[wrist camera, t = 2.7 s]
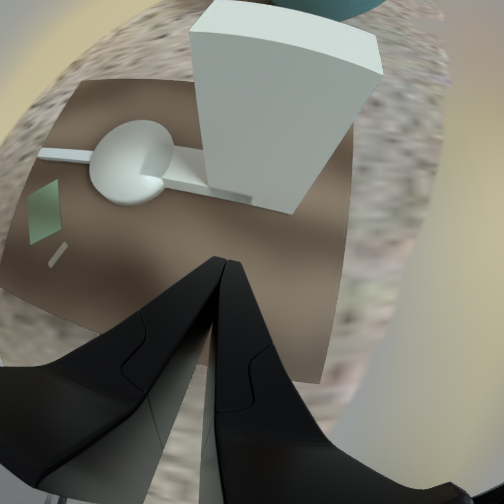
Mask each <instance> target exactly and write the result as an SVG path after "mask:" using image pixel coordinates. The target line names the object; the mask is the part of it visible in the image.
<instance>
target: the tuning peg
mask: <svg viewBox="0 0 504 504" xmlns="http://www.w3.org/2000/svg"><path fill="white" fill-rule="evenodd" d="M189 36H190V46H191V56H192V65H193V74H194V83H195V91H196V99H197V107H198V115H199V123H200V130H201V138H202V145H203V150H199V149H193V148H187V147H181V146H174V143H173V140H172V137H171V135H170V133H169V132H168V131H167V129H166V128H165V127H163V126H162V125H160V124H159V123H156V122H154V121H149V120H135V121H130V122H127V123H124V124H122V125H120V126H118V127H116V128H115V129H113V130H112V131H110V132H109V133H108V134H107V135H106V136H105V137H104V138H103V139H102V140H101V141H100V142H99V144H98V145H97V147H96V148H95V150H94V151H86V150H73V149H58V148H41V149H40V151H39V154H38V156H37V157H38V158H39V159H45V160H56V161H67V162H76V163H85V164H90V167H89V172H90V178H91V181H92V183H93V185H94V186H95V188H96V189H97V190H98V191H99V192H100V193H101V194H102V195H103V196H104V197H105V198H106V199H107V200H109V201H110V202H112V203H114V204H116V205H120V206H137V205H140V204H143V203H146V202H148V201H150V200H152V199H153V198H155V197H156V196H158V195H159V194H160V193H161V192H162V191H163V190H164V189H165V188H170V189H175V190H181V191H186V192H191V193H196V194H201V195H206V196H211V197H216V198H221V199H225V200H230V201H235V202H239V203H244V204H248V205H253V206H257V207H262V208H266V209H270V210H275V211H279V212H283V213H287V214H291V215H292V214H293V213H294V211H295V210H296V208H297V207H298V205H299V204H300V202H301V201H302V199H303V198H304V196H305V195H306V193H307V192H308V190H309V189H310V187H311V186H312V184H313V183H314V181H315V180H316V178H317V177H318V175H319V174H320V172H321V171H322V169H323V168H324V166H325V165H326V163H327V162H328V160H329V158H330V157H331V155H332V154H333V152H334V151H335V149H336V148H337V146H338V145H339V143H340V142H341V140H342V139H343V137H344V136H345V134H346V133H347V131H348V129H349V128H350V126H351V125H352V123H353V122H354V120H355V119H356V117H357V116H358V114H359V113H360V111H361V109H362V108H363V106H364V105H365V103H366V102H367V100H368V99H369V97H370V96H371V94H372V92H373V91H374V89H375V88H376V86H377V85H378V83H379V81H380V80H381V78H382V77H383V70H382V65H381V59H380V55H379V50H378V45H377V41H376V37H375V35H372V34H370V33H367V32H365V31H362V30H360V29H357V28H354V27H352V26H349V25H346V24H343V23H340V22H337V21H334V20H330V19H327V18H324V17H320V16H317V15H313V14H309V13H305V12H301V11H297V10H292V9H287V8H282V7H277V6H272V5H266V4H259V3H252V2H244V1H234V0H214V2H213V3H212V4H211V5H210V6H209V7H208V8H207V10H206V11H205V12H204V13H203V14H202V16H201V17H200V18H199V19H198V21H197V22H196V23H195V24H194V26H193V27H192V28H191V29H190V31H189Z"/></svg>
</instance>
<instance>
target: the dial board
mask: <svg viewBox="0 0 504 504" xmlns="http://www.w3.org/2000/svg"><path fill="white" fill-rule="evenodd" d="M135 120H149V121H154V122H156V123H159V124H160V125H162V126H163V127H165V128H166V129H167V131H168V132H169V133H170V135H171V137H172V140H173V143H174V146H181V147H187V148H193V149H199V150H203V145H202V138H201V130H200V123H199V115H198V107H197V99H196V91H195V83H194V82H187V81H174V80H156V79H107V80H89V81H82V82H81V83H80V84H79V86H78V87H77V89H76V90H75V92H74V93H73V95H72V96H71V98H70V99H69V101H68V102H67V104H66V106H65V107H64V109H63V110H62V112H61V114H60V115H59V117H58V119H57V120H56V122H55V124H54V126H53V127H52V129H51V131H50V133H49V135H48V137H47V139H46V140H45V142H44V144H43V146H42V148H58V149H73V150H86V151H94V150H95V148H96V147H97V145H98V144H99V142H100V141H101V140H102V139H103V138H104V137H105V136H106V135H107V134H108V133H109V132H110V131H112V130H113V129H115V128H116V127H118V126H120V125H122V124H124V123H127V122H130V121H135ZM352 159H353V123H352V125H351V126H350V128H349V129H348V131H347V133H346V134H345V136H344V137H343V139H342V140H341V142H340V143H339V145H338V146H337V148H336V149H335V151H334V152H333V154H332V155H331V157H330V158H329V160H328V162H327V163H326V165H325V166H324V168H323V169H322V171H321V172H320V174H319V175H318V177H317V178H316V180H315V181H314V183H313V184H312V186H311V187H310V189H309V190H308V192H307V193H306V195H305V196H304V198H303V199H302V201H301V202H300V204H299V205H298V207H297V208H296V210H295V211H294V213H293V214H292V215H291V214H287V213H283V212H279V211H275V210H270V209H266V208H262V207H257V206H253V205H248V204H244V203H239V202H235V201H230V200H225V199H221V198H216V197H211V196H206V195H201V194H196V193H191V192H186V191H181V190H175V189H170V188H165V189H164V190H163V191H162V192H161V193H160V194H159V195H158V196H156V197H155V198H153V199H152V200H150V201H148V202H146V203H143V204H140V205H137V206H120V205H116V204H114V203H112V202H110V201H109V200H107V199H106V198H105V197H104V196H103V195H102V194H101V193H100V192H99V191H98V190H97V189H96V188H95V186H94V185H93V183H92V181H91V178H90V172H89V167H90V164H85V163H76V162H67V161H56V160H45V159H39V158H38V157H37V159H36V161H35V163H34V165H33V167H32V170H31V172H30V174H29V177H28V179H27V181H26V184H25V186H24V189H23V191H22V194H21V197H20V199H19V202H18V205H17V208H16V211H15V214H14V217H13V220H12V223H11V226H10V230H9V233H8V237H7V240H6V244H5V248H4V252H3V256H2V261H1V265H0V287H1V288H2V289H4V290H6V291H8V292H10V293H11V294H13V295H15V296H17V297H19V298H21V299H23V300H25V301H27V302H29V303H31V304H33V305H35V306H37V307H39V308H41V309H43V310H45V311H47V312H49V313H52V314H54V315H56V316H58V317H60V318H63V319H65V320H67V321H70V322H72V323H74V324H77V325H79V326H82V327H84V328H87V329H89V330H92V331H94V332H97V333H100V334H103V333H105V332H106V331H108V330H110V329H111V328H113V327H114V326H116V325H117V324H119V323H120V322H122V321H123V320H125V319H126V318H127V317H129V316H130V315H132V314H133V313H134V312H136V311H137V310H138V311H139V309H140V308H141V307H143V306H144V305H145V304H147V303H148V302H150V301H151V300H152V299H154V298H155V297H156V296H158V295H159V294H161V293H162V292H163V291H165V290H166V289H167V288H169V287H170V286H172V285H173V284H174V283H176V282H177V281H179V280H180V279H181V278H183V277H184V276H186V275H187V274H188V273H190V272H191V271H193V270H194V269H195V268H197V267H198V266H200V265H201V264H202V263H204V262H205V261H207V260H208V259H209V258H211V257H212V256H218V257H222V258H226V260H228V259H231V260H235V261H239V262H241V263H242V266H243V268H244V271H245V273H246V276H247V278H248V281H249V283H250V286H251V288H252V291H253V293H254V296H255V298H256V301H257V303H258V306H259V308H260V310H261V313H262V315H263V318H264V320H265V323H266V325H267V328H268V330H269V333H270V335H271V337H272V340H273V344H274V345H275V347H276V349H277V352H278V354H279V357H280V359H281V361H282V363H283V365H284V367H285V370H286V372H287V374H288V375H289V377H290V379H291V381H296V382H304V383H314V384H320V380H321V376H322V372H323V368H324V363H325V359H326V355H327V350H328V345H329V341H330V336H331V331H332V326H333V321H334V315H335V310H336V304H337V299H338V293H339V287H340V280H341V274H342V267H343V259H344V252H345V244H346V235H347V226H348V216H349V205H350V193H351V178H352ZM211 329H212V326H211ZM210 337H211V330H210V332H209V335H208V338H207V340H206V343H205V345H204V348H203V350H202V353H201V355H200V358H199V360H198V363H197V364H202V365H206V366H208V358H209V347H210Z"/></svg>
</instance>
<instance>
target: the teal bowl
mask: <svg viewBox="0 0 504 504" xmlns="http://www.w3.org/2000/svg"><path fill="white" fill-rule="evenodd" d="M271 1H272V3H273V4H274V5H276V6H277V7H282V8H287V9H292V10H297V11H301V12H305V13H309V14H313V15H317V16H320V17H324V18H327V19H330V20H334V21H337V22H340V21H344V20H347V19H350V18H352V17H355V16H358V15H360V14H362V13H365V12H367V11H369V10H371V9H373V8H375V7H377V6H378V5H380V4H381V3H383V2H385V1H386V0H271Z"/></svg>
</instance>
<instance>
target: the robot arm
mask: <svg viewBox="0 0 504 504" xmlns="http://www.w3.org/2000/svg"><path fill="white" fill-rule="evenodd" d="M211 326H212V329H211ZM210 330H211V337H210V347H209V358H208V369H207V380H206V392H205V404H204V418H203V432H202V448H201V466H200V487H199V504H504V482H503V483H502V484H500V485H498V486H496V487H493V488H491V489H489V490H487V491H485V492H483V493H481V494H478V495H476V496H473V497H470V495H469V494H468V493H467V492H466V491H465V490H463V489H462V488H460V487H458V486H457V485H455V484H454V483H452V482H447V483H444V484H441V485H438V486H435V487H432V488H429V489H424V490H422V489H413V488H409V487H405V486H403V485H401V484H398V483H396V482H394V481H393V480H391V479H389V478H387V477H385V476H383V475H381V474H380V473H378V472H376V471H374V470H373V469H371V468H369V467H367V466H366V465H364V464H362V463H361V462H359V461H358V460H356V459H354V458H352V457H351V456H349V455H348V454H346V453H345V452H343V451H342V450H340V449H338V448H337V447H336V446H335V445H334V444H333V443H332V442H331V441H330V440H329V439H328V438H327V437H326V436H325V435H324V433H323V432H322V431H321V429H320V427H319V426H318V424H317V423H316V421H315V419H314V418H313V416H312V415H311V413H310V411H309V410H308V408H307V406H306V405H305V403H304V401H303V400H302V398H301V396H300V395H299V393H298V391H297V390H296V388H295V386H294V384H293V383H292V381H291V379H290V377H289V375H288V374H287V372H286V370H285V367H284V365H283V363H282V361H281V359H280V357H279V354H278V352H277V349H276V347H275V345H274V344H273V340H272V337H271V335H270V333H269V330H268V328H267V325H266V323H265V320H264V318H263V315H262V313H261V310H260V308H259V306H258V303H257V301H256V298H255V296H254V293H253V291H252V288H251V286H250V283H249V281H248V278H247V276H246V273H245V271H244V268H243V266H242V263H241V262H239V261H235V260H231V259H228V260H226V258H222V257H218V256H212V257H211V258H209V259H208V260H207V261H205V262H204V263H202V264H201V265H200V266H198V267H197V268H195V269H194V270H193V271H191V272H190V273H188V274H187V275H186V276H184V277H183V278H181V279H180V280H179V281H177V282H176V283H174V284H173V285H172V286H170V287H169V288H167V289H166V290H165V291H163V292H162V293H161V294H159V295H158V296H156V297H155V298H154V299H152V300H151V301H150V302H148V303H147V304H145V305H144V306H143V307H141V308H140V309H139V311H138V310H137V311H136V312H134V313H133V314H132V315H130V316H129V317H127V318H126V319H125V320H123V321H122V322H120V323H119V324H117V325H116V326H114V327H113V328H111V329H110V330H108V331H106V332H105V333H103V334H101V335H100V336H98V337H96V338H95V339H93V340H91V341H89V342H88V343H86V344H84V345H82V346H81V347H79V348H77V349H75V350H74V351H72V352H70V353H68V354H67V355H65V356H63V357H61V358H60V359H58V360H56V361H54V362H51V363H49V364H45V365H42V366H35V367H5V366H0V504H143V503H144V500H145V497H146V495H147V492H148V489H149V487H150V484H151V481H152V479H153V476H154V473H155V471H156V468H157V466H158V463H159V460H160V458H161V455H162V453H163V449H164V447H165V445H166V442H167V439H168V437H169V434H170V432H171V429H172V426H173V424H174V421H175V419H176V416H177V414H178V411H179V408H180V406H181V403H182V401H183V398H184V396H185V393H186V391H187V388H188V386H189V383H190V380H191V378H192V375H193V373H194V370H195V368H196V365H197V363H198V360H199V358H200V355H201V353H202V350H203V348H204V345H205V343H206V340H207V338H208V335H209V332H210Z"/></svg>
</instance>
